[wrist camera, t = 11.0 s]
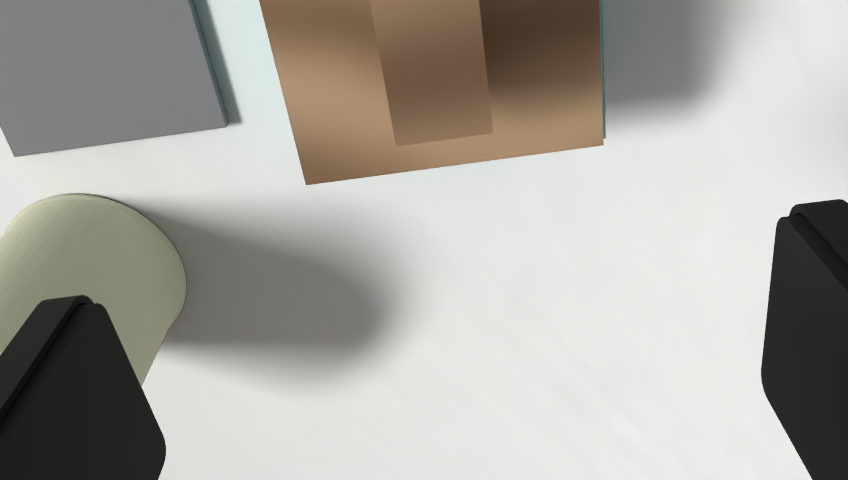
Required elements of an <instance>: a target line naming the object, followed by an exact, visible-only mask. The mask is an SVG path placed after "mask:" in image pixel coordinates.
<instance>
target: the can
mask: <svg viewBox="0 0 848 480" xmlns="http://www.w3.org/2000/svg"><path fill="white" fill-rule="evenodd" d="M186 286H187V285H186V275H185V271H184V267H183V264H182V261H181V258H180V256H179V254H178V253H177V251H176V249H175V247H174V246H173V244H172V243H171V241H170V240H169V239H168V238H167V237H166V235H165V234H164V233H163V232H162V231H161V230H160V229H159V228H158V227H157V226H156V225H155V224H154V223H152V222H151V221H150V220H148V219H147V218H146V217H144V216H143V215H141V214H140V213H138V212H137V211H135V210H133V209H131V208H129V207H127V206H125V205H123V204H120V203H118V202H115V201H112V200H110V199H106V198H101V197H97V196H92V195H84V194H66V195H58V196H53V197H49V198H45V199H42V200H40V201H37V202H35V203H33V204H31V205H30V206H28V207H26V208H25V209H24V210H22V211H21V212H20V213H19V214H18V215H17V216H16V217H15V218H14V219H13V220H12V221H11V223H10V224H9V226H8V227H7V229H6V231H5V233H4V235H3V236H2V237H1V238H0V355H1V354H2V352H3V351H4V350H5V348H6V347H7V346H8V344H9V343H10V341H11V340H12V339H13V337H14V336H15V335H16V333H17V332H18V331H19V329H20V328H21V326H22V325H23V324H24V322H25V321H26V320H27V318H28V317H29V316H30V314H31V313H32V311H33V310H34V309H35V307H36V306H37V305H38V304H39V303H40V302H41V301H43V300H46V299H53V298H61V297H69V296H77V295H85V296H88V297H89V298H90V299H91V300H92V301H93V302H94V303H99V304H102V305H103V306H104V307H105V309H106V310H107V312H108V314H109V316H110V319H111V321H112V323H113V325H114V328H115V330H116V332H117V334H118V336H119V339H120V341H121V343H122V345H123V348H124V350H125V352H126V354H127V356H128V359H129V361H130V363H131V365H132V368H133V370H134V372H135V374H136V376H137V379H138V381H139V383H140V385H141V386H142V384H143V382H144V380H145V378H146V376H147V373H148V371H149V369H150V367H151V365H152V363H153V361H154V359H155V357H156V355H157V352H158V350H159V348H160V346H161V344H162V342H163V340H164V338H165V336H166V334H167V332H168V330H169V328H170V326H171V325H172V324H173V323H174V322H175V320H176V319H177V317H178V316H179V314H180V312H181V310H182V308H183V305H184V302H185V297H186Z"/></svg>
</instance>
